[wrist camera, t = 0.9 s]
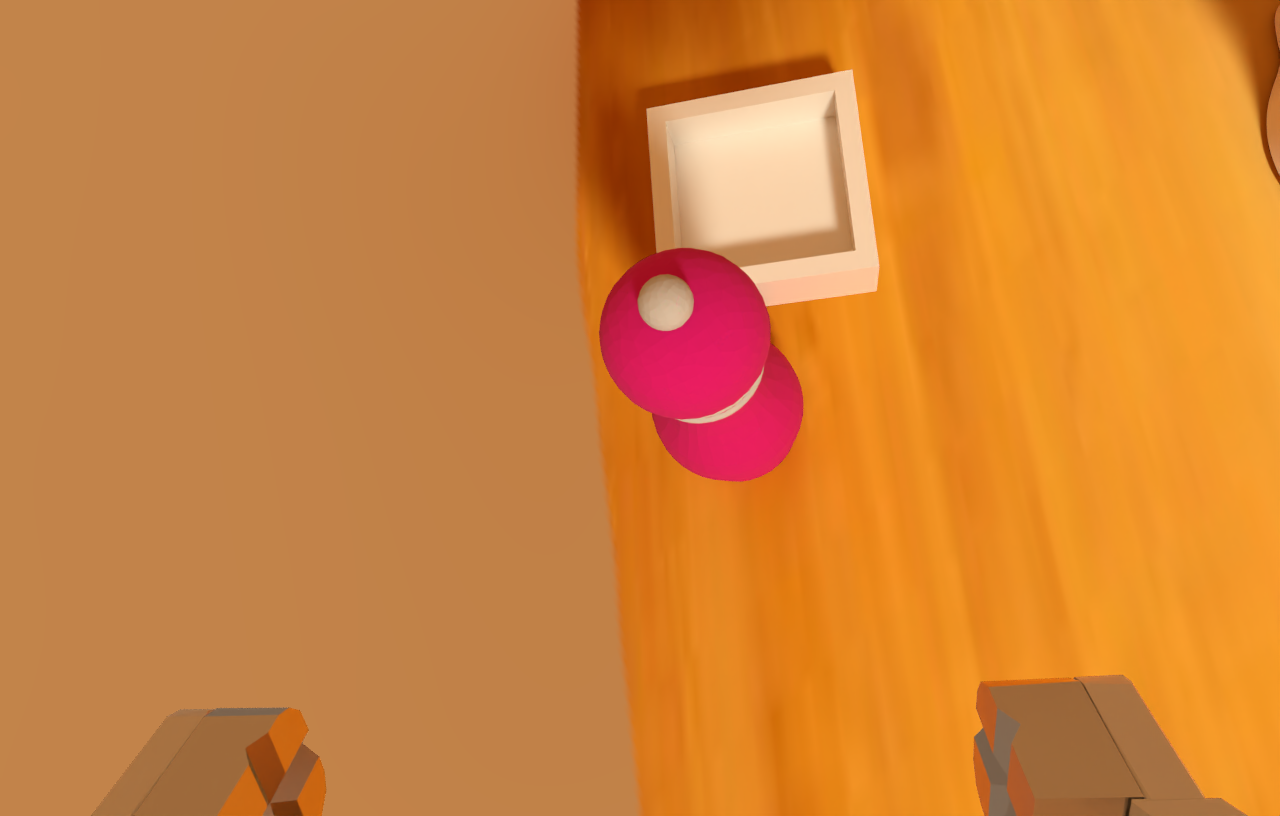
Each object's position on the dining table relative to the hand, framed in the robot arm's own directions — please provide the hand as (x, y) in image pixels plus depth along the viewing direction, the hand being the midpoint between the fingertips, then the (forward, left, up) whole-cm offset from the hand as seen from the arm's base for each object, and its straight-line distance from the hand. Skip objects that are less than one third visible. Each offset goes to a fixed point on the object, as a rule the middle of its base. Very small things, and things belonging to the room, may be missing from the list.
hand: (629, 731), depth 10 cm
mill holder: (-12, -19, -33) cm, 40 cm away
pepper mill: (-4, -10, -34) cm, 35 cm away
